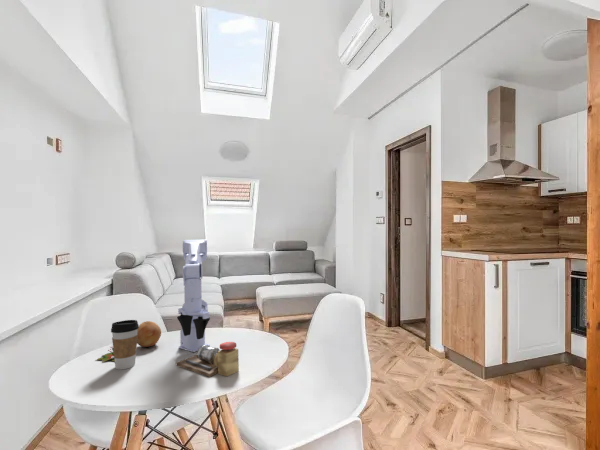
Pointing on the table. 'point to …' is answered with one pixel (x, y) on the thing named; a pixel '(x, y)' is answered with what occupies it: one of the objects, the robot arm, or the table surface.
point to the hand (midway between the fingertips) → (193, 336)
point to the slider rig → (215, 362)
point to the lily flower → (107, 356)
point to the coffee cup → (124, 343)
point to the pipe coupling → (207, 353)
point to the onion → (148, 334)
